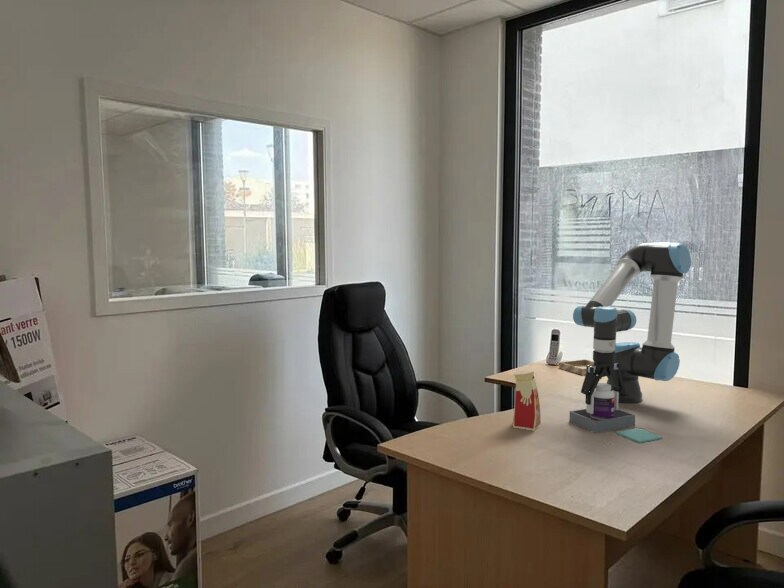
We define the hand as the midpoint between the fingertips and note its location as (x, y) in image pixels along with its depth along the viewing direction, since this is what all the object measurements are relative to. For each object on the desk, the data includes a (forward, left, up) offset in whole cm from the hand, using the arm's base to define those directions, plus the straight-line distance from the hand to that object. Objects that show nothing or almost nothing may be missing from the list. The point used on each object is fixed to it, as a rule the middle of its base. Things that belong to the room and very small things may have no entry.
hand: (602, 410), depth 211 cm
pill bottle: (0, 0, -5) cm, 5 cm away
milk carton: (-10, -26, -5) cm, 28 cm away
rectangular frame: (0, 0, -5) cm, 5 cm away
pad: (+15, +2, -5) cm, 16 cm away
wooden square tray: (-67, +52, -5) cm, 85 cm away
